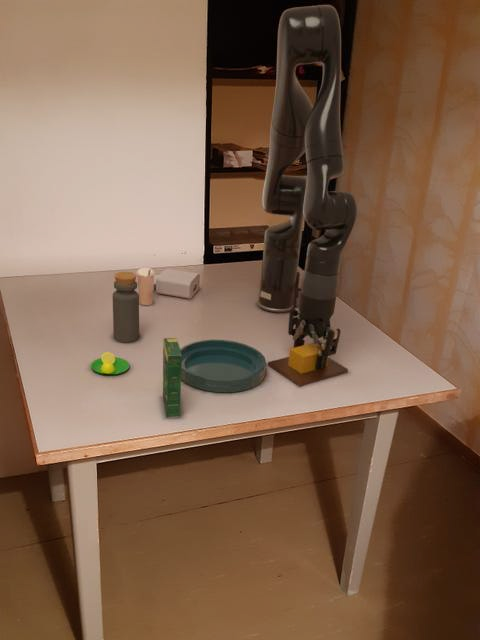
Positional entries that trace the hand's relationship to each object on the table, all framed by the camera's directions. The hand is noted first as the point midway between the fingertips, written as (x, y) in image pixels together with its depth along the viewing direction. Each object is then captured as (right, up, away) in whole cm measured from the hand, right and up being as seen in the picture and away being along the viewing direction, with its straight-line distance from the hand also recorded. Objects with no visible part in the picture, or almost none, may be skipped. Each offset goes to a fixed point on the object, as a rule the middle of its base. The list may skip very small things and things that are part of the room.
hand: (308, 362), depth 147 cm
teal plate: (-19, -2, -3) cm, 20 cm away
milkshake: (-39, +17, +26) cm, 50 cm away
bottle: (-41, +6, +8) cm, 43 cm away
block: (0, -1, 0) cm, 1 cm away
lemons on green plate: (-43, -2, -6) cm, 43 cm away
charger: (-35, +23, +35) cm, 54 cm away
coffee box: (-29, -11, -17) cm, 35 cm away
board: (0, -1, +1) cm, 2 cm away
